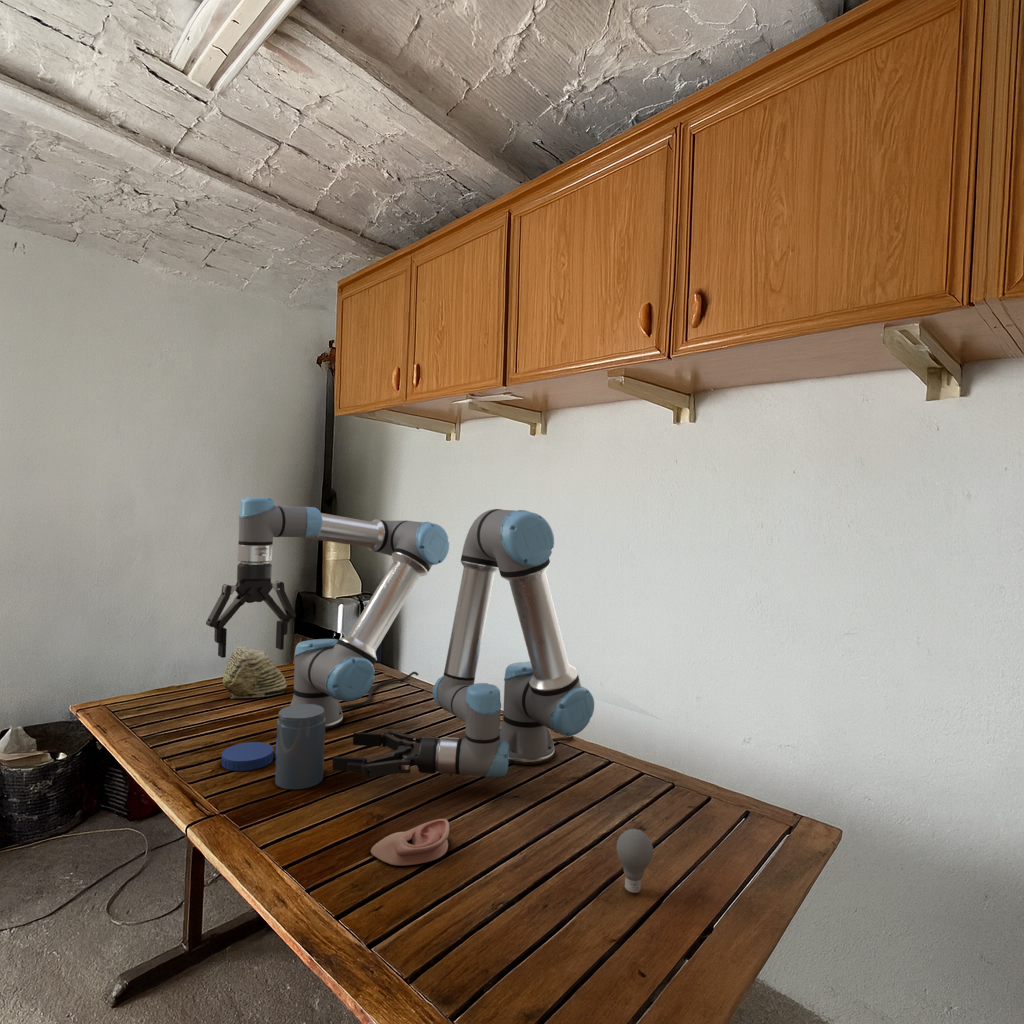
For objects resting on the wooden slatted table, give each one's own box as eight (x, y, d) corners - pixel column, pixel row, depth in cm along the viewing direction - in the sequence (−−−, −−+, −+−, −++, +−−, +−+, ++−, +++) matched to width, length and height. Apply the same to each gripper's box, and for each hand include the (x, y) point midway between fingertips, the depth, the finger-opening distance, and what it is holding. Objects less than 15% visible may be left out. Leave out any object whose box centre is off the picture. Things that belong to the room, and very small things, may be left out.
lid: (209, 765, 147) (210, 755, 147) (247, 747, 157) (247, 738, 157) (247, 775, 142) (248, 764, 142) (284, 756, 153) (284, 747, 153)
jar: (300, 765, 149) (302, 700, 148) (333, 776, 144) (335, 708, 144) (264, 781, 139) (267, 712, 139) (298, 793, 135) (301, 722, 134)
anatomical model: (363, 838, 111) (389, 807, 122) (362, 860, 111) (388, 827, 122) (436, 849, 108) (455, 817, 119) (435, 872, 108) (454, 838, 119)
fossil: (218, 695, 195) (220, 647, 195) (278, 685, 208) (279, 640, 207) (228, 703, 189) (230, 653, 188) (289, 692, 201) (290, 645, 201)
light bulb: (610, 879, 108) (613, 822, 108) (644, 879, 109) (647, 822, 109) (619, 902, 102) (622, 840, 102) (655, 901, 103) (658, 840, 103)
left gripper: (204, 566, 138) (201, 663, 138) (311, 562, 155) (308, 648, 155) (192, 563, 143) (189, 656, 143) (297, 559, 160) (294, 642, 161)
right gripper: (426, 799, 127) (323, 793, 128) (447, 749, 152) (360, 744, 153) (427, 762, 127) (323, 757, 128) (448, 718, 152) (361, 714, 153)
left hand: (251, 652), depth 149 cm, fingers open, 13 cm apart
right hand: (343, 750), depth 141 cm, fingers open, 13 cm apart
